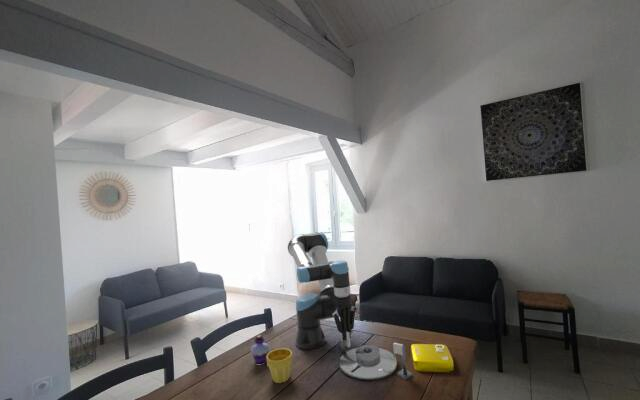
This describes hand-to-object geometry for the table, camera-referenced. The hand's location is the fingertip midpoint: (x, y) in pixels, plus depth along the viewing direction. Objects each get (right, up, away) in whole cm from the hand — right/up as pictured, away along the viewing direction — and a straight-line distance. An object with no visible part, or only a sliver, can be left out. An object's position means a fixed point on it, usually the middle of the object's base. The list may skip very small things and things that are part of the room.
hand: (347, 346), depth 136 cm
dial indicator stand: (+20, -1, -22) cm, 30 cm away
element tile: (+34, 0, -14) cm, 36 cm away
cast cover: (+8, 0, -11) cm, 14 cm away
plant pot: (-29, -5, -17) cm, 33 cm away
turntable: (+7, -2, -11) cm, 13 cm away
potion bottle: (-40, -6, -2) cm, 40 cm away
